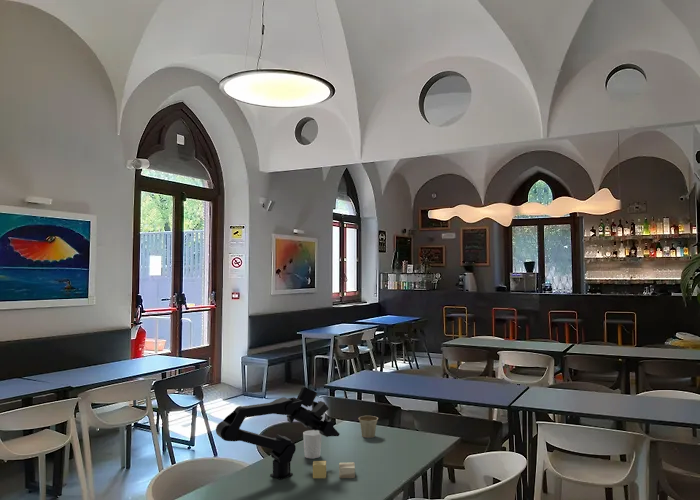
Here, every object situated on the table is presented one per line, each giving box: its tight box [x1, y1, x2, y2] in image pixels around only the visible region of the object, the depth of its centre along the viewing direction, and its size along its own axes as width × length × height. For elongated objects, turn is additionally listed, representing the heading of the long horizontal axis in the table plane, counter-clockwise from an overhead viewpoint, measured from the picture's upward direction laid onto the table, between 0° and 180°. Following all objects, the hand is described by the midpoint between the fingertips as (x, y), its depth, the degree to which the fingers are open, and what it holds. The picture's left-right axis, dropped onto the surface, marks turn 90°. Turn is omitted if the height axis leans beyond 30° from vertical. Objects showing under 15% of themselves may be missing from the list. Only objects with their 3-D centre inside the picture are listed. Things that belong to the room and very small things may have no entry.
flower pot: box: [358, 415, 379, 439], centre depth 266 cm, size 9×9×9 cm
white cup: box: [302, 429, 322, 460], centre depth 239 cm, size 8×8×10 cm
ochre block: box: [312, 460, 327, 479], centre depth 216 cm, size 5×5×5 cm
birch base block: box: [338, 461, 356, 479], centre depth 216 cm, size 6×6×4 cm
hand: (333, 432), depth 229 cm, fingers open, 9 cm apart
